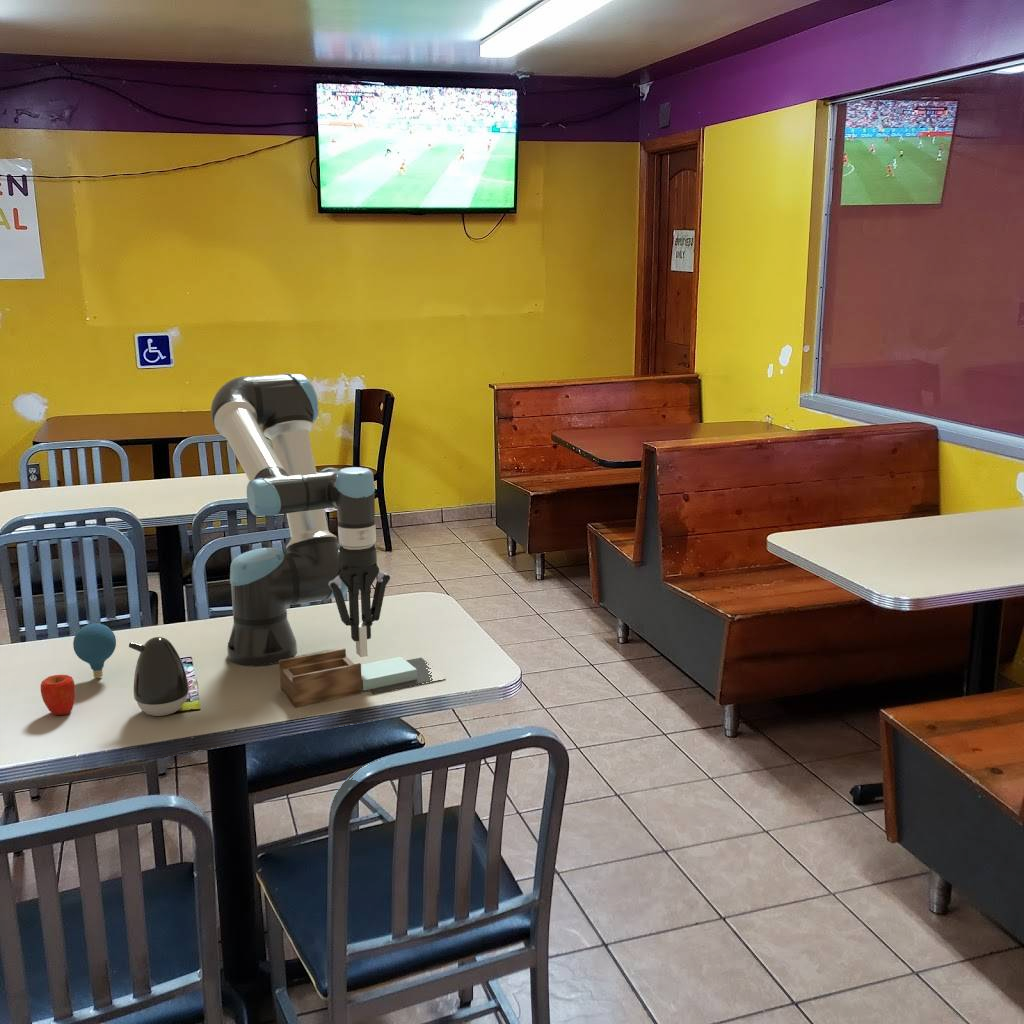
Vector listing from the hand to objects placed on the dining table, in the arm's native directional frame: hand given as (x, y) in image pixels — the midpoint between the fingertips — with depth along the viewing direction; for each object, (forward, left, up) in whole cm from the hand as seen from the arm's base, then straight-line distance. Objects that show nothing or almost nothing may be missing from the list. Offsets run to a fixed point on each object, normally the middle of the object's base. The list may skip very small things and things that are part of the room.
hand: (361, 654), depth 212 cm
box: (-7, -6, -6) cm, 11 cm away
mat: (+6, +5, -6) cm, 10 cm away
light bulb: (-56, -9, -7) cm, 57 cm away
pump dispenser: (-34, -21, -7) cm, 40 cm away
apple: (-53, -26, -7) cm, 59 cm away
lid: (+3, +2, -6) cm, 7 cm away
